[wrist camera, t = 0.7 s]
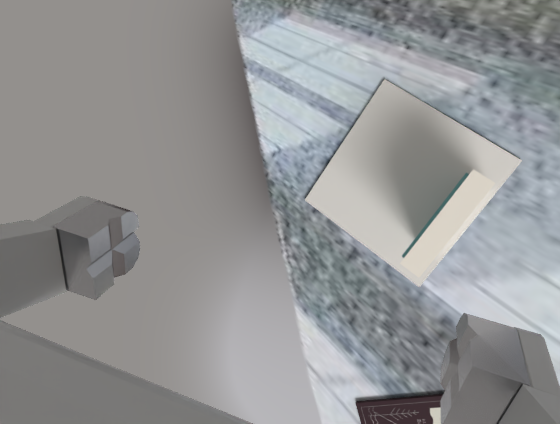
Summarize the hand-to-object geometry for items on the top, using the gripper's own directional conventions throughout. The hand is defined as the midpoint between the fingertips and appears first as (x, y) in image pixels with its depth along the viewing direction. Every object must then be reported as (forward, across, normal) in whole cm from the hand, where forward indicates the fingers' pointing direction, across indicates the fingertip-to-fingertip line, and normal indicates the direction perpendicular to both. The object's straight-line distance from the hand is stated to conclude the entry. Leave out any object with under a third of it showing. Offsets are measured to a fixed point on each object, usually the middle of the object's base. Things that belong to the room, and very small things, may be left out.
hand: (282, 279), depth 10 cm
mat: (+41, -3, +14) cm, 43 cm away
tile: (+39, -10, +15) cm, 43 cm away
